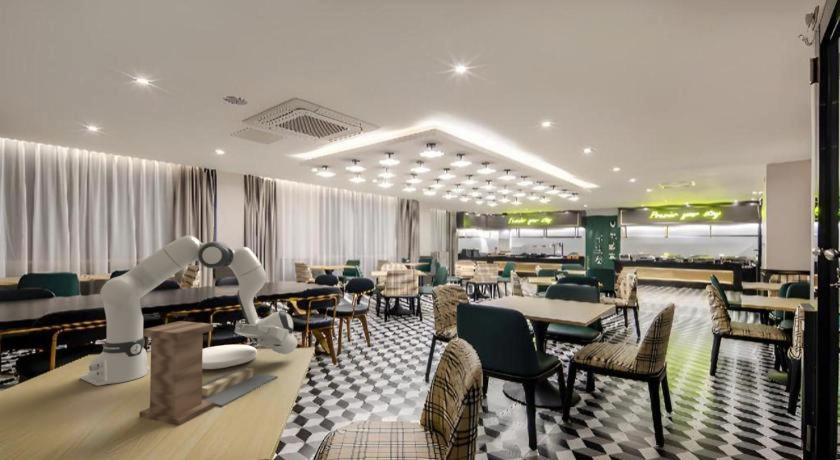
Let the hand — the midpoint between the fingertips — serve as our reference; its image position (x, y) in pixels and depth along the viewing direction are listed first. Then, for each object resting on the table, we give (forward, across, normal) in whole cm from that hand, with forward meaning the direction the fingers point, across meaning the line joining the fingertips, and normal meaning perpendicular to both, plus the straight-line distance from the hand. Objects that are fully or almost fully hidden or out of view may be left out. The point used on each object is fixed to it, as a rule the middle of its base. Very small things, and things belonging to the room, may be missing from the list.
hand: (247, 325), depth 142 cm
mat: (-3, 0, +21) cm, 22 cm away
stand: (+14, 0, +31) cm, 34 cm away
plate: (-21, -24, +12) cm, 34 cm away
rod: (-3, 0, +21) cm, 21 cm away
